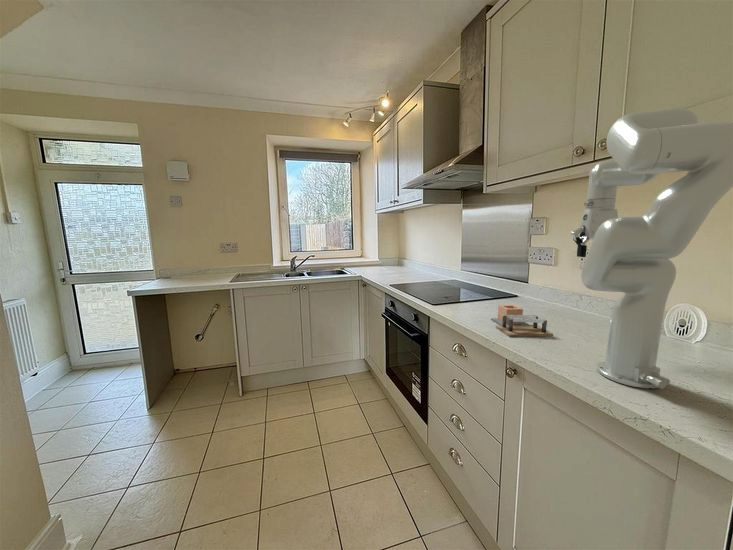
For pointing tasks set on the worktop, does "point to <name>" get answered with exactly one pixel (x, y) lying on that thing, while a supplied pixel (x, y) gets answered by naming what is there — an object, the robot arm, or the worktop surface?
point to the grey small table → (524, 319)
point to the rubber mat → (506, 324)
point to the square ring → (509, 312)
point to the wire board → (523, 331)
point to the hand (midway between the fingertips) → (594, 256)
